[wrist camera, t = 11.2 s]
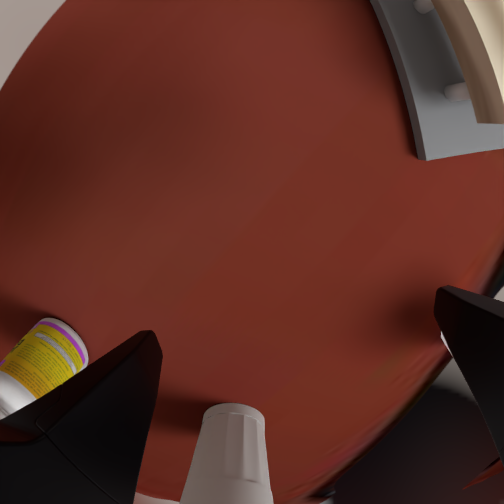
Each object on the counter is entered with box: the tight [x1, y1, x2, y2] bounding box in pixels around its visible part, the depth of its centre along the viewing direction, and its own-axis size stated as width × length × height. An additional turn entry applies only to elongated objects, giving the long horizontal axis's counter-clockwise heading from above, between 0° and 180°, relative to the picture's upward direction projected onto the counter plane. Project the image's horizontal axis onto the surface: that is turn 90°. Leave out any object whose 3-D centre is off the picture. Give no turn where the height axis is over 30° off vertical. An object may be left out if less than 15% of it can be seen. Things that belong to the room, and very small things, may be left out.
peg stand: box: [370, 0, 504, 161], centre depth 13 cm, size 16×10×4 cm, turn 16°
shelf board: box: [431, 0, 504, 124], centre depth 9 cm, size 5×11×3 cm, turn 20°
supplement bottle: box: [0, 318, 88, 420], centre depth 18 cm, size 7×7×13 cm
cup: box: [180, 403, 273, 504], centre depth 21 cm, size 8×8×12 cm
